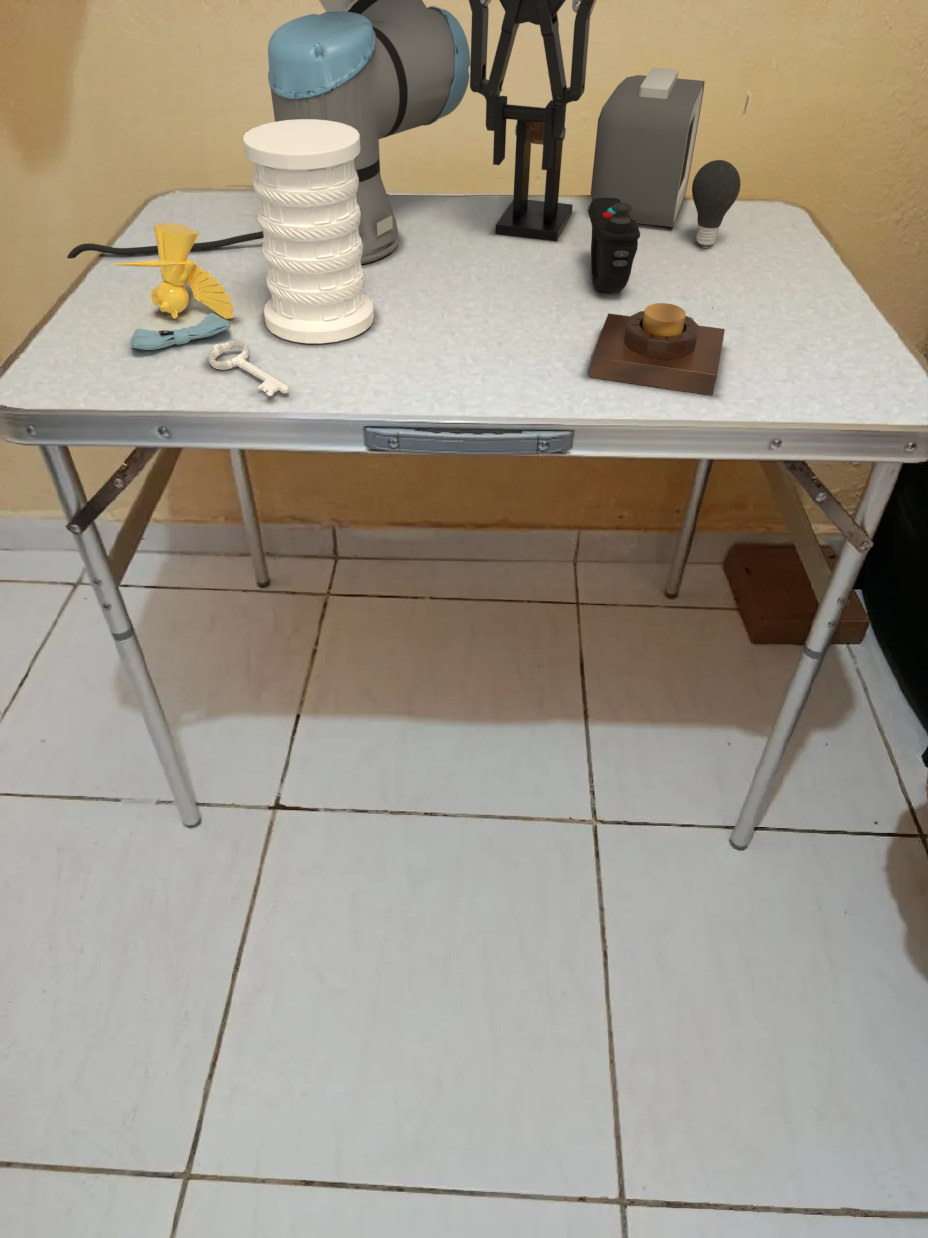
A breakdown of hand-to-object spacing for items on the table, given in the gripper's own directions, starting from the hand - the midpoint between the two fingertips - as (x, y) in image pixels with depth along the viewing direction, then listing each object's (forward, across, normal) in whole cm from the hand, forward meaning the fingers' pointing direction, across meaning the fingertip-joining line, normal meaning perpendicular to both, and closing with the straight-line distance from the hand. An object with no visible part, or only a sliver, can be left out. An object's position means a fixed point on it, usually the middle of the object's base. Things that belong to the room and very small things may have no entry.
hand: (522, 163), depth 106 cm
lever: (-2, 0, +4) cm, 5 cm away
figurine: (+1, -32, -29) cm, 43 cm away
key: (+10, -19, -40) cm, 45 cm away
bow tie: (+10, -29, -32) cm, 44 cm away
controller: (+10, +12, -7) cm, 17 cm away
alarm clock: (+10, +12, +19) cm, 25 cm away
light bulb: (+10, +22, +8) cm, 26 cm away
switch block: (+10, +20, -24) cm, 33 cm away
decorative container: (+10, -16, -25) cm, 31 cm away
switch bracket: (+10, 0, +9) cm, 13 cm away
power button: (+6, +20, -24) cm, 32 cm away
